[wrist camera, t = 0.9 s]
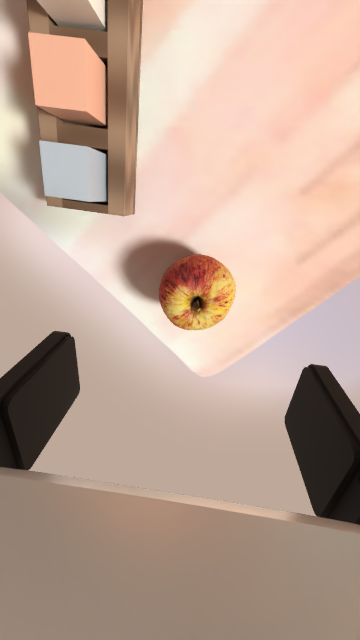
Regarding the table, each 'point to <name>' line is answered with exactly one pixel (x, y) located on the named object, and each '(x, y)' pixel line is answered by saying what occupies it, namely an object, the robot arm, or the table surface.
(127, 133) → the frame block
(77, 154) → the grey block
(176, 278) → the apple
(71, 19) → the key cream
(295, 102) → the table surface
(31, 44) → the key terracotta
